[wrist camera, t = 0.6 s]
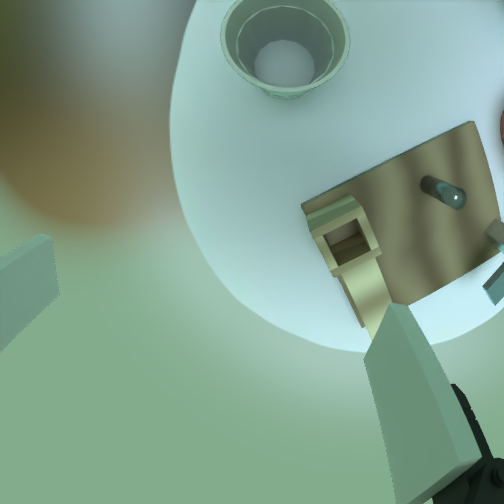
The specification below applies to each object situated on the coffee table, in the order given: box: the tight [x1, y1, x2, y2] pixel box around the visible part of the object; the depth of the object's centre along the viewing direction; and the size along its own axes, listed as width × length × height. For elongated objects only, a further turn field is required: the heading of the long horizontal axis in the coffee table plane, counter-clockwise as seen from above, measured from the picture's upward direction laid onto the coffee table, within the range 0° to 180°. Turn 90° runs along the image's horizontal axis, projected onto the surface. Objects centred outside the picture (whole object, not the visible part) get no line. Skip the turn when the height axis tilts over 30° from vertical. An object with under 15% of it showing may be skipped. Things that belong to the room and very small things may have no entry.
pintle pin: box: [420, 175, 467, 210], centre depth 25 cm, size 2×2×6 cm
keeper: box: [482, 218, 504, 305], centre depth 26 cm, size 3×8×7 cm, turn 140°
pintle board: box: [301, 121, 501, 328], centre depth 30 cm, size 22×17×1 cm
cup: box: [221, 0, 350, 99], centre depth 20 cm, size 8×8×12 cm
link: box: [306, 193, 392, 341], centre depth 30 cm, size 15×5×5 cm, turn 30°
